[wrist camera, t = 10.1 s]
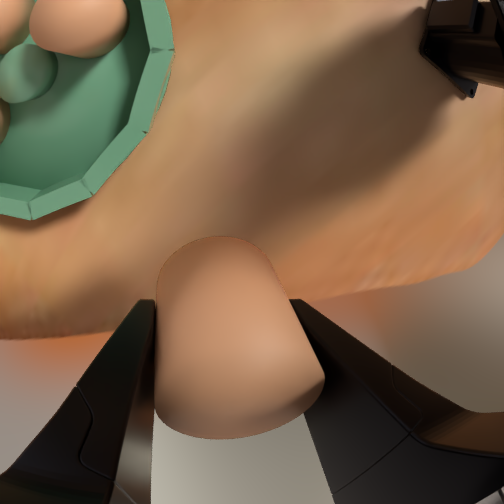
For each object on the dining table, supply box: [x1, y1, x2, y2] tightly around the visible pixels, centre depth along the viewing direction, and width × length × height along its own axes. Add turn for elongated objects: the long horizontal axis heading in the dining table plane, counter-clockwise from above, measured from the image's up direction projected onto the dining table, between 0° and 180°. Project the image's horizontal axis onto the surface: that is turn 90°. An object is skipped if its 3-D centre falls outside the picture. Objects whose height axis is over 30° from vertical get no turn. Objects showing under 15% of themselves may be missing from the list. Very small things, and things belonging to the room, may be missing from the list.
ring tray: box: [0, 0, 175, 220], centre depth 10 cm, size 15×15×3 cm
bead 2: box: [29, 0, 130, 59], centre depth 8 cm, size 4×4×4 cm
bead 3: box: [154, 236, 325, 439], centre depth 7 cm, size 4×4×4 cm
